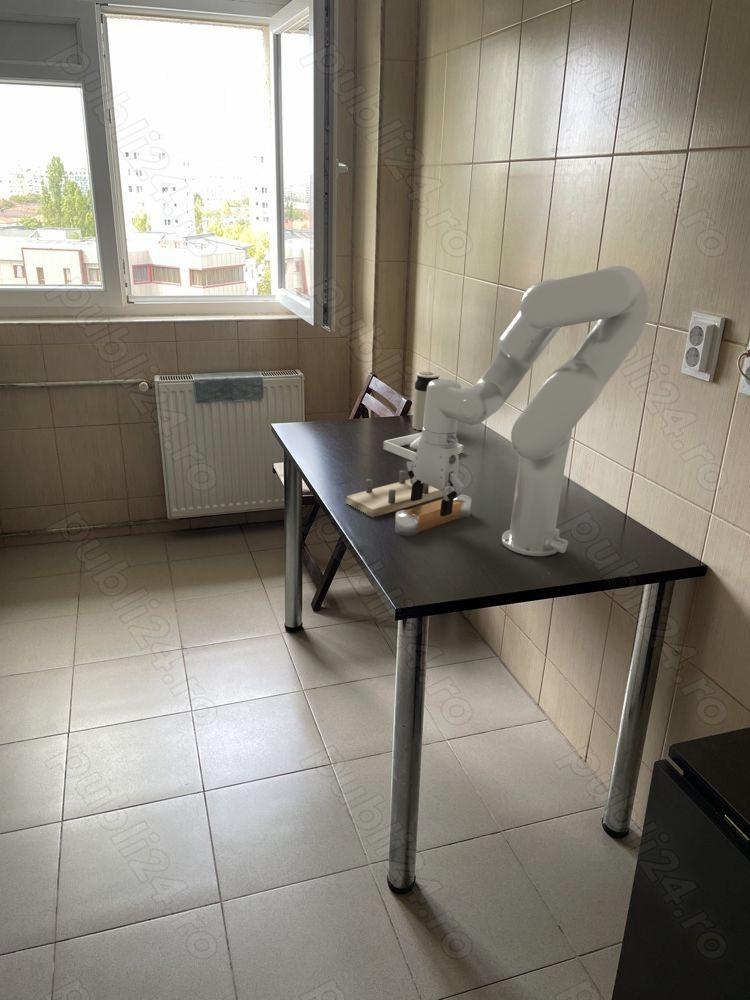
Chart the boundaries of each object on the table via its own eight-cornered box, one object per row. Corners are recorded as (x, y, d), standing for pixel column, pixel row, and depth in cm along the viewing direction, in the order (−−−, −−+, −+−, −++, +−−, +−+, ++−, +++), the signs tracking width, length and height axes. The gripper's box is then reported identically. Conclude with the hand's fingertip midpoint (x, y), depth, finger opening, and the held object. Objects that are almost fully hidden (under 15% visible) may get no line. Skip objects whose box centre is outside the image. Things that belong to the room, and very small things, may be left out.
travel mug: (410, 430, 236) (414, 375, 229) (413, 424, 243) (417, 370, 236) (435, 432, 235) (439, 377, 228) (437, 426, 242) (441, 372, 235)
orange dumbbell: (474, 514, 174) (476, 499, 172) (405, 537, 160) (406, 521, 159) (458, 507, 177) (460, 492, 176) (390, 529, 164) (390, 513, 162)
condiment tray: (462, 453, 216) (463, 445, 215) (420, 464, 206) (421, 455, 205) (424, 439, 227) (425, 431, 226) (383, 449, 217) (383, 440, 216)
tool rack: (445, 495, 184) (446, 477, 182) (372, 517, 169) (373, 497, 168) (417, 483, 191) (419, 465, 189) (345, 503, 176) (346, 484, 175)
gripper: (479, 445, 157) (469, 517, 164) (424, 423, 169) (416, 491, 176) (455, 450, 153) (446, 524, 159) (400, 427, 165) (393, 497, 171)
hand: (430, 507), depth 168 cm, fingers open, 9 cm apart
